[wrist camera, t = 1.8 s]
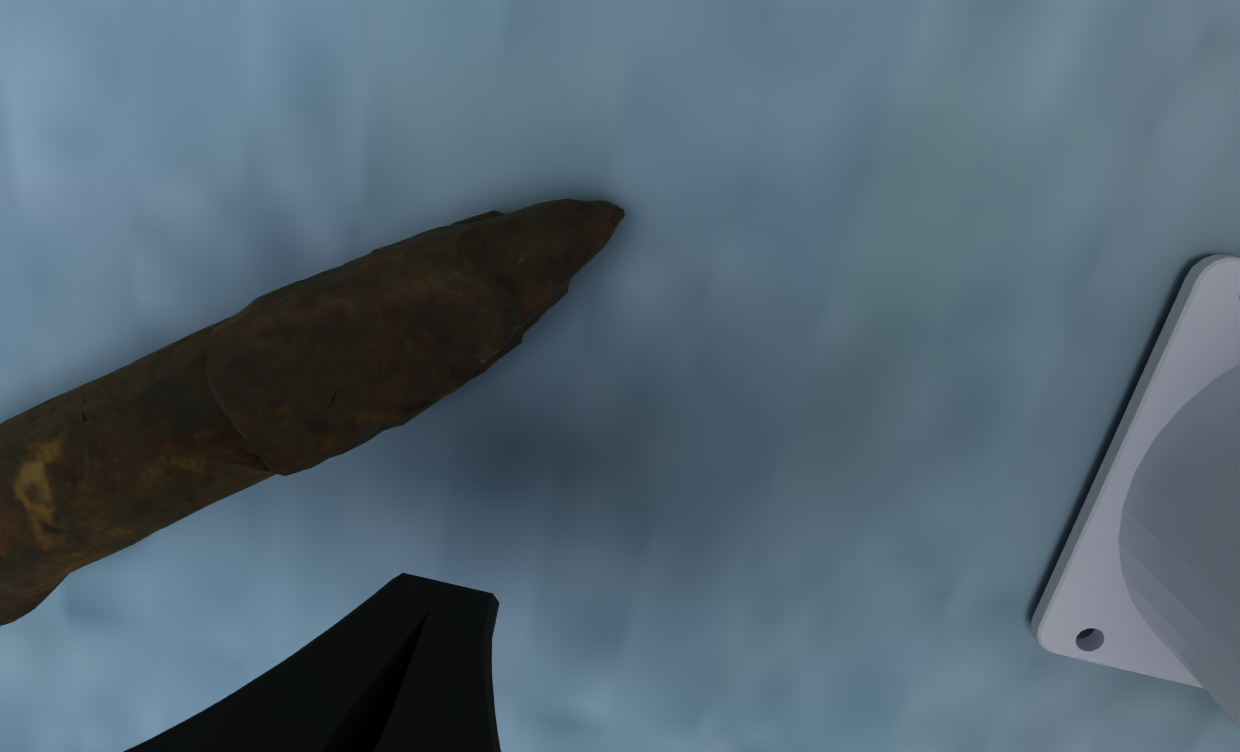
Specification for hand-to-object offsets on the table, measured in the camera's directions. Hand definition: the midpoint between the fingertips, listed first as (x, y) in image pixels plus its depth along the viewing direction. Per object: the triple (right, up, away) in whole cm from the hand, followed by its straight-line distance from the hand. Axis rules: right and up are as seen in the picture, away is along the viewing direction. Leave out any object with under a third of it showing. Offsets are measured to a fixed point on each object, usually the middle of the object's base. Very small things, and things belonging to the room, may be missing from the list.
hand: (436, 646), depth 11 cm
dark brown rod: (-6, +3, +6) cm, 9 cm away
